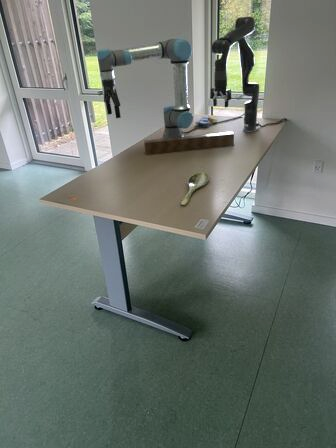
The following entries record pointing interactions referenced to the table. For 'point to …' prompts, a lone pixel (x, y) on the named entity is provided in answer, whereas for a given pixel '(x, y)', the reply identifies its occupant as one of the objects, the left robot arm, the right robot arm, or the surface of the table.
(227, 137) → the block
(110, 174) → the table surface
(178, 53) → the left robot arm
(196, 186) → the spoon
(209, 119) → the spray gun
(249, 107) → the right robot arm
